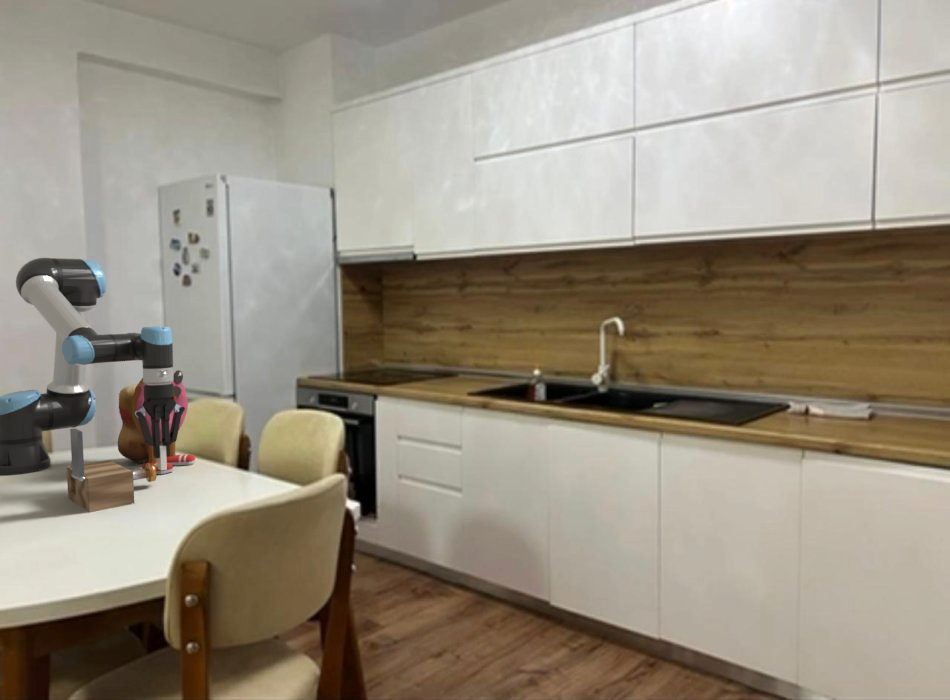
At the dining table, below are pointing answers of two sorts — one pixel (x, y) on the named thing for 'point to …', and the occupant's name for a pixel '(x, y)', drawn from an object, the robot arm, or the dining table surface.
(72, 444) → the silver flat rectangular plate
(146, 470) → the pin
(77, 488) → the block
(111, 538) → the dining table surface
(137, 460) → the butternut squash
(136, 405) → the toy
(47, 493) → the dining table surface
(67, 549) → the dining table surface
